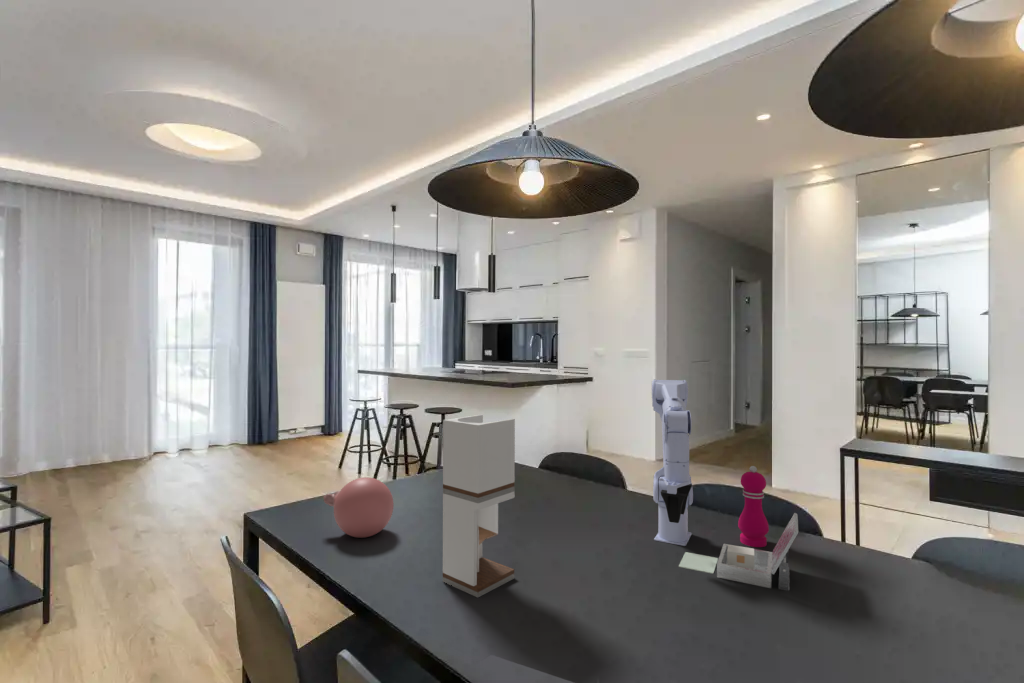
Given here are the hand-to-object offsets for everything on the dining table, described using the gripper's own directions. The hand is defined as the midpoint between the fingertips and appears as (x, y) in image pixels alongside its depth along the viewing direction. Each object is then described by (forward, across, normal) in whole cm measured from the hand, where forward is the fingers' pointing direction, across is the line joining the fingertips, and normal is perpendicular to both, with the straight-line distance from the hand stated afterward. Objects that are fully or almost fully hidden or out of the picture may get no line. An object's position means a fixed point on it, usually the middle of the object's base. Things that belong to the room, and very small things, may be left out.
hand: (676, 517), depth 122 cm
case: (+10, 0, +15) cm, 18 cm away
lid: (+6, 0, +20) cm, 21 cm away
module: (+10, 0, +14) cm, 17 cm away
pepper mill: (+10, -20, +16) cm, 27 cm away
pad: (+10, 0, +5) cm, 11 cm away
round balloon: (+10, +24, -79) cm, 83 cm away
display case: (+11, +31, -37) cm, 49 cm away
